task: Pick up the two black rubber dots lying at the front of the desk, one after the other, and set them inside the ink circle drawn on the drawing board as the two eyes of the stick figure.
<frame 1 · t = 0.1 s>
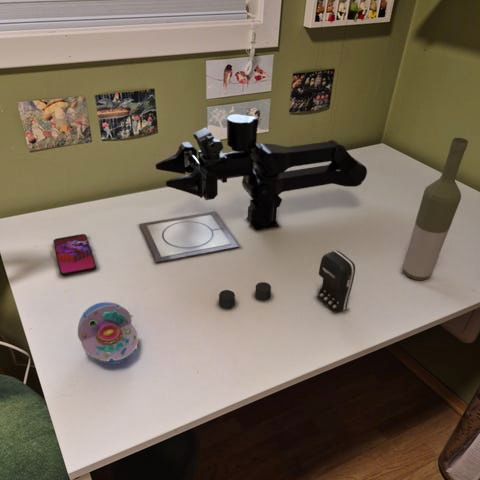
hand: (160, 174, 102), 17 cm above the table, tool horizontal, fingers open, 9 cm apart
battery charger: (329, 304, 97), on the table
dot a: (262, 296, 98), on the table
bottle: (415, 274, 106), on the table
drawing board: (187, 236, 115), on the table
smartphone: (74, 256, 107), on the table
dot b: (226, 304, 96), on the table
cell model: (113, 352, 85), on the table
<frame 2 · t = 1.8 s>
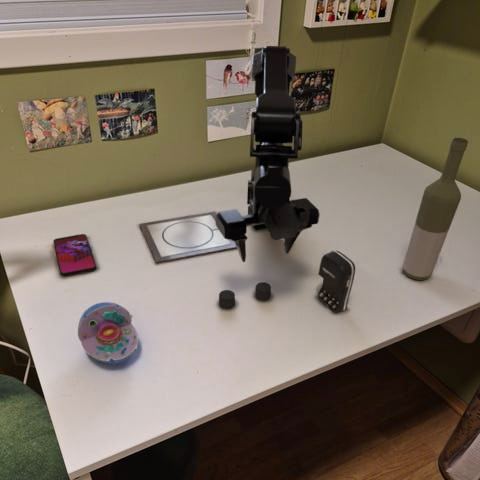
hand: (265, 256, 91), 10 cm above the table, tool pointing down, fingers open, 9 cm apart
nothing on the table moved.
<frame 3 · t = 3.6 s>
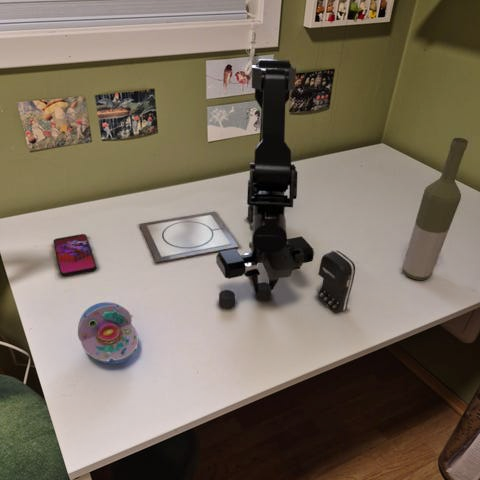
hand: (263, 290, 97), 1 cm above the table, tool pointing down, fingers closed on dot a, 3 cm apart
dot a: (262, 296, 98), on the table, touching gripper
everything else where it was.
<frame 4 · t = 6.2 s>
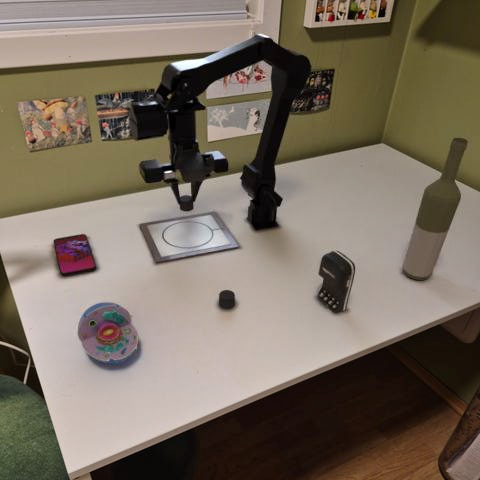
hand: (186, 202, 107), 10 cm above the table, tool pointing down, fingers closed on dot a, 3 cm apart
dot a: (186, 208, 108), point 9 cm above the table, touching gripper
everything else where it was.
when the fingers open (2 cm above the table, at t = 8.8 s): dot a stays where it is, resting on drawing board.
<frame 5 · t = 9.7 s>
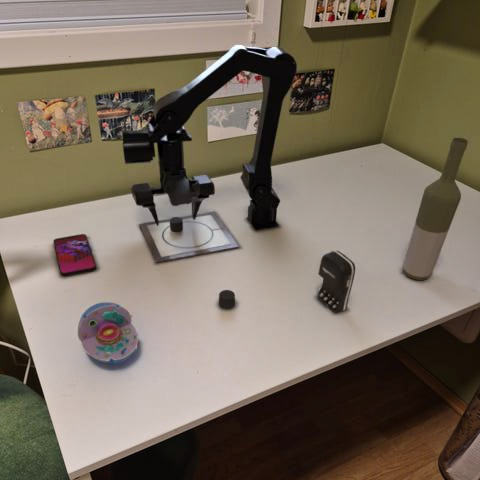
hand: (175, 222, 115), 3 cm above the table, tool pointing down, fingers open, 9 cm apart
dot a: (176, 229, 116), point 1 cm above the table, touching drawing board
everything else where it was.
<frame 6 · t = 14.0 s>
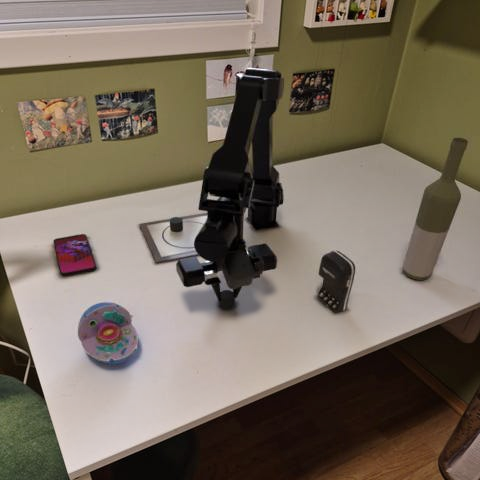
hand: (226, 298, 95), 1 cm above the table, tool pointing down, fingers closed on dot b, 3 cm apart
dot b: (226, 304, 96), on the table, touching gripper
everything else where it was.
when the fingers open (2 cm above the table, at t = 19.0 s): dot b stays where it is, resting on drawing board.
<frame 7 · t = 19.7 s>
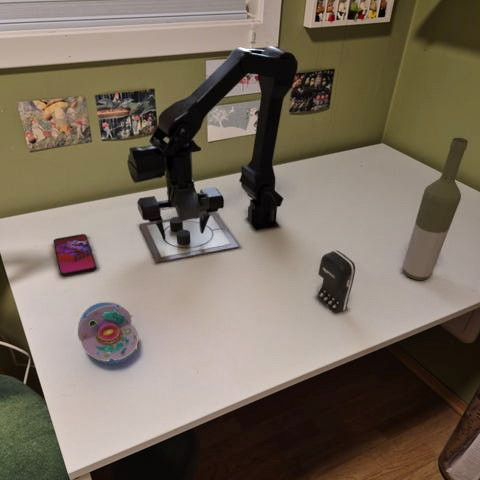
hand: (183, 236, 111), 2 cm above the table, tool pointing down, fingers open, 9 cm apart
dot b: (183, 242, 112), point 1 cm above the table, touching drawing board
everything else where it was.
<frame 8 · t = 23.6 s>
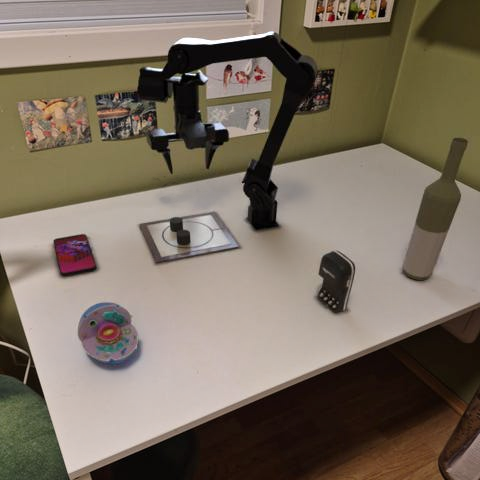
hand: (189, 171, 115), 12 cm above the table, tool pointing down, fingers open, 9 cm apart
nothing on the table moved.
at the end: dot a 0.1 cm from the target spot on the drawing board, point 0.6 cm above the drawing board's base; dot b 0.1 cm from the target spot on the drawing board, point 0.6 cm above the drawing board's base; dot a touching drawing board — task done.
